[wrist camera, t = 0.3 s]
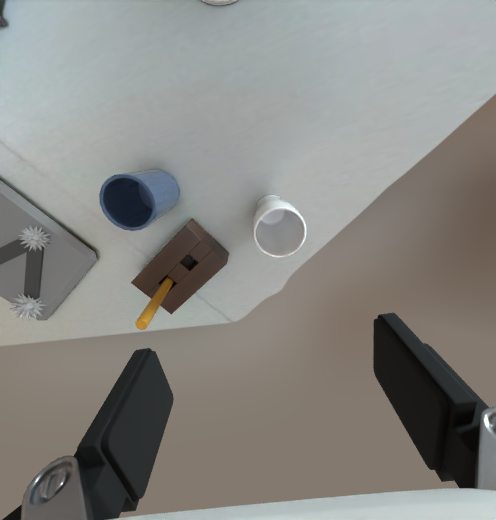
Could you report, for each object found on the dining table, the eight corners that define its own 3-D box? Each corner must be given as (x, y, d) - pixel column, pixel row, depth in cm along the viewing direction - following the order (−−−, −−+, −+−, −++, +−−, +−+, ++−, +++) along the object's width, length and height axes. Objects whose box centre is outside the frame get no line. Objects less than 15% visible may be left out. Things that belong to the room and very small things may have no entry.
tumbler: (129, 190, 44) (88, 202, 33) (154, 159, 42) (120, 161, 31) (161, 220, 46) (134, 241, 35) (187, 191, 44) (167, 204, 33)
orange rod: (169, 271, 50) (132, 324, 34) (174, 266, 50) (139, 318, 34) (175, 276, 50) (142, 331, 35) (180, 271, 50) (149, 325, 34)
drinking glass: (256, 231, 47) (258, 263, 33) (248, 194, 44) (247, 212, 30) (292, 223, 46) (310, 253, 32) (286, 186, 44) (303, 200, 30)
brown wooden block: (141, 271, 50) (130, 282, 45) (192, 218, 46) (186, 225, 41) (178, 300, 53) (171, 314, 48) (229, 253, 48) (227, 263, 44)
